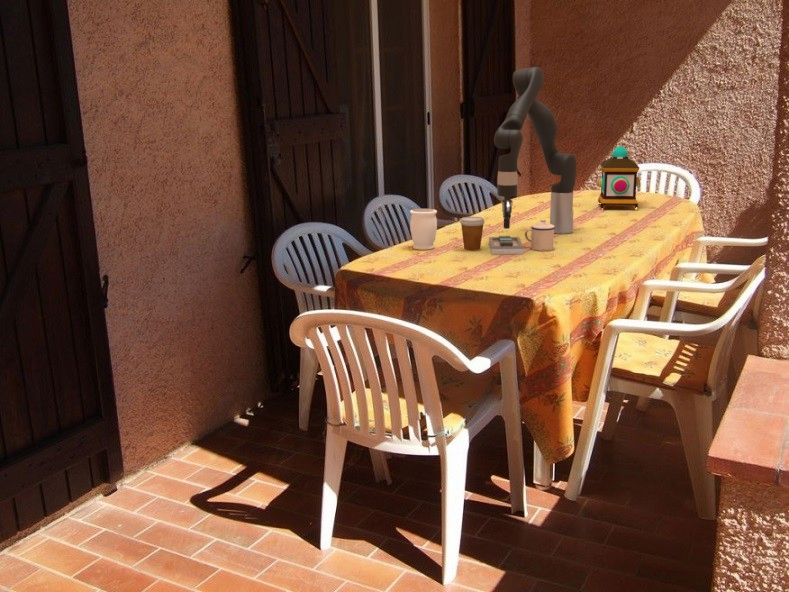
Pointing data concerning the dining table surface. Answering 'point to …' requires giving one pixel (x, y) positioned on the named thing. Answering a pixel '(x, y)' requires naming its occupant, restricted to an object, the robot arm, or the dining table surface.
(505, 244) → the dark taupe block
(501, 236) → the grey rectangular prism
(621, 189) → the decorative lantern
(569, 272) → the dining table surface
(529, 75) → the robot arm
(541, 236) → the teacup with lid
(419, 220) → the jar
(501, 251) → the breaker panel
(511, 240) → the teal rectangular box
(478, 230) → the disposable coffee cup
